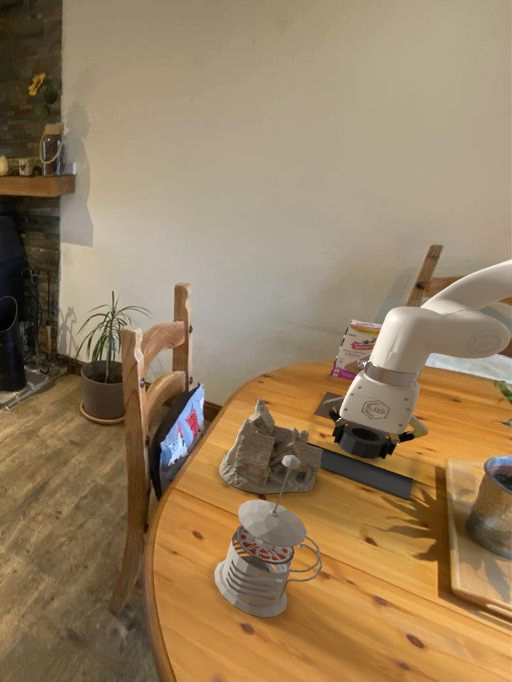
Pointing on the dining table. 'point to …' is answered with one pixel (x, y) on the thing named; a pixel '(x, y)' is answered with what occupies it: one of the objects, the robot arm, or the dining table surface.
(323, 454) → the felt mat
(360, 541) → the dining table surface
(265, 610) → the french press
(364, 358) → the candy bar box
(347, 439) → the tape roll
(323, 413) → the tape stand
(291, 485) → the ceramic cottage
